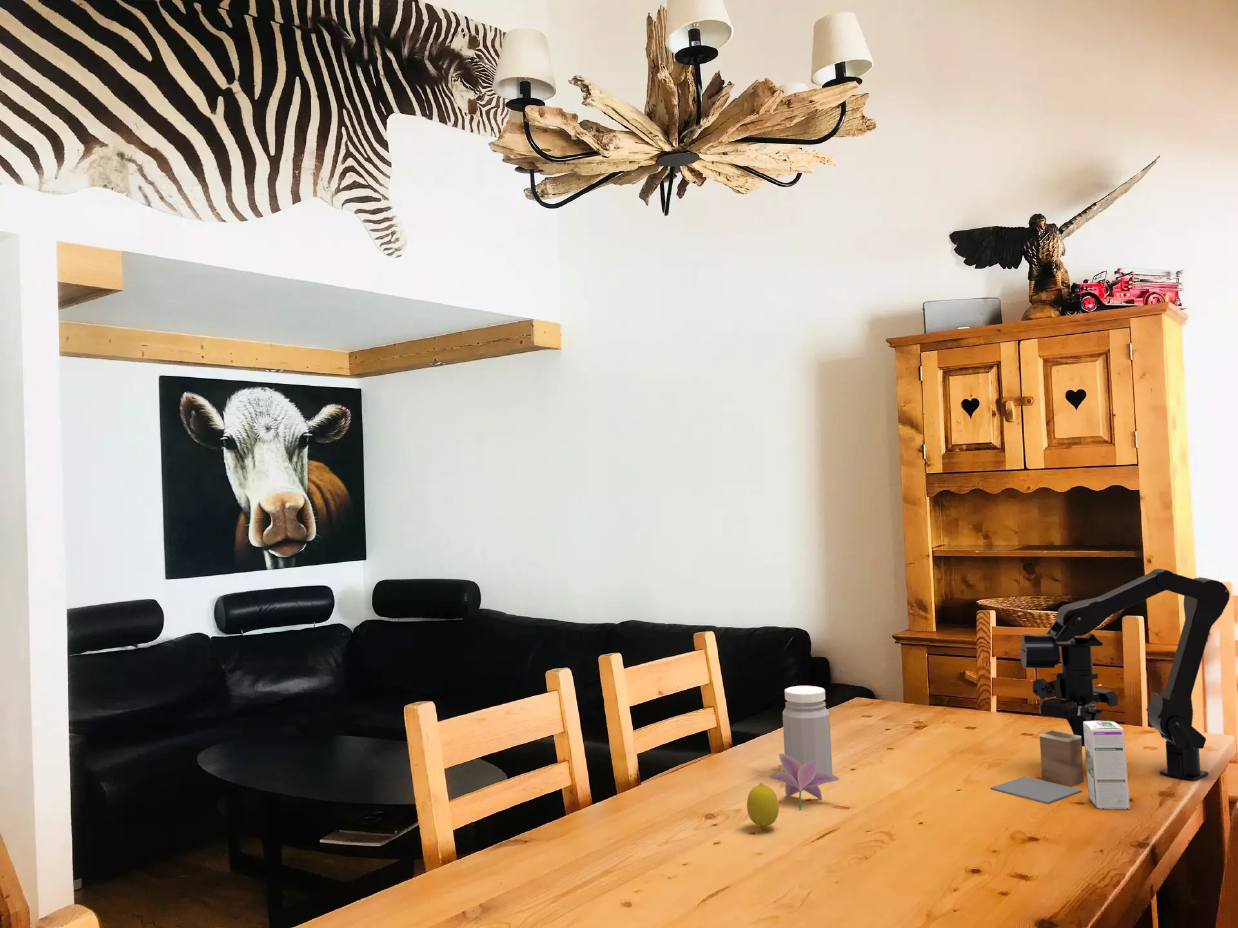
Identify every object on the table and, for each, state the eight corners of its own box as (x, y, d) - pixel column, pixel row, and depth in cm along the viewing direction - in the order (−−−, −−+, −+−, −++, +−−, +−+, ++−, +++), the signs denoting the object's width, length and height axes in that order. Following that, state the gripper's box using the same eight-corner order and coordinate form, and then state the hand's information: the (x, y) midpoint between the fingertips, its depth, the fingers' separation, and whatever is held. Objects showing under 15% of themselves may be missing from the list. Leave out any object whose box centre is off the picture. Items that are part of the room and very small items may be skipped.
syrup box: (1131, 809, 172) (1126, 727, 172) (1095, 808, 173) (1090, 727, 173) (1121, 799, 177) (1116, 720, 178) (1086, 798, 178) (1082, 719, 179)
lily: (848, 812, 180) (844, 760, 185) (809, 801, 173) (806, 747, 178) (796, 820, 187) (793, 770, 192) (757, 810, 180) (755, 758, 185)
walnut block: (1055, 775, 193) (1052, 730, 194) (1083, 782, 188) (1081, 735, 189) (1042, 779, 191) (1039, 734, 191) (1070, 786, 186) (1068, 739, 186)
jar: (780, 781, 197) (776, 693, 197) (790, 768, 206) (786, 683, 206) (828, 785, 193) (824, 695, 194) (836, 771, 202) (832, 685, 203)
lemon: (782, 824, 171) (779, 779, 172) (776, 835, 166) (774, 788, 167) (751, 822, 173) (749, 777, 174) (745, 833, 168) (743, 786, 168)
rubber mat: (1024, 777, 193) (1024, 776, 193) (1081, 791, 183) (1081, 789, 183) (990, 788, 187) (990, 787, 187) (1048, 803, 177) (1048, 802, 177)
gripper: (1066, 657, 206) (1070, 730, 206) (1013, 668, 196) (1017, 746, 195) (1117, 663, 197) (1121, 740, 196) (1064, 676, 187) (1069, 757, 186)
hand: (1081, 745), depth 194 cm, fingers closed
